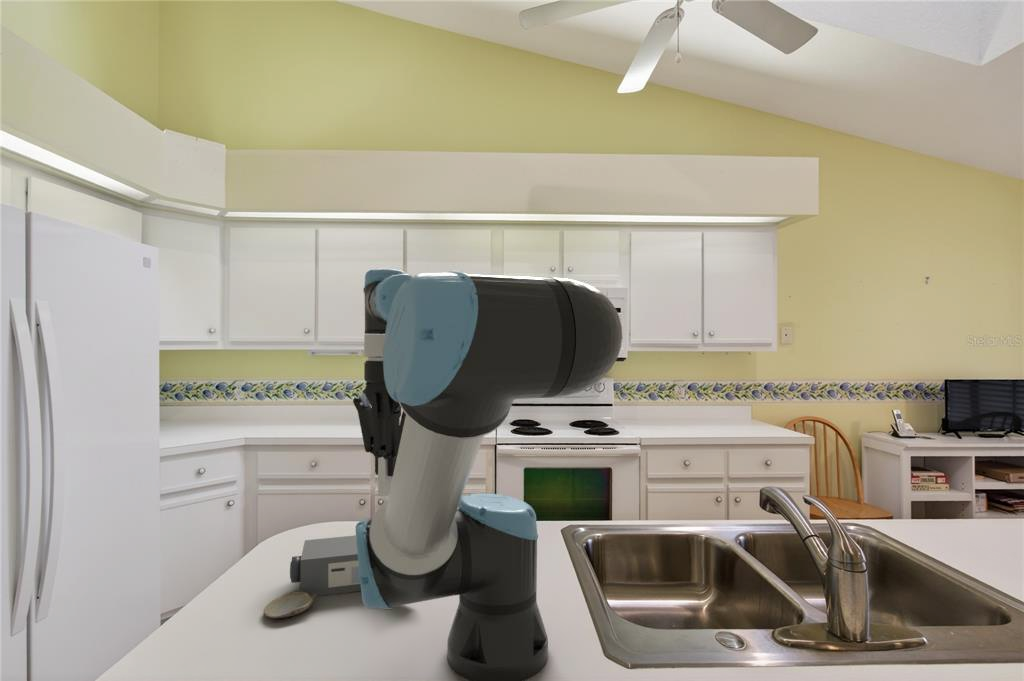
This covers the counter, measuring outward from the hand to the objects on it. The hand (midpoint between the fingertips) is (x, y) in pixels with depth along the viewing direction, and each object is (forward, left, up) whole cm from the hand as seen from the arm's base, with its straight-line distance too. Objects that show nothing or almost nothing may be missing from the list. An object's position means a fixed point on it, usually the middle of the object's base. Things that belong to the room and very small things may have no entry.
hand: (386, 493), depth 96 cm
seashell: (+4, +16, -21) cm, 26 cm away
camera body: (+13, +8, -20) cm, 25 cm away
